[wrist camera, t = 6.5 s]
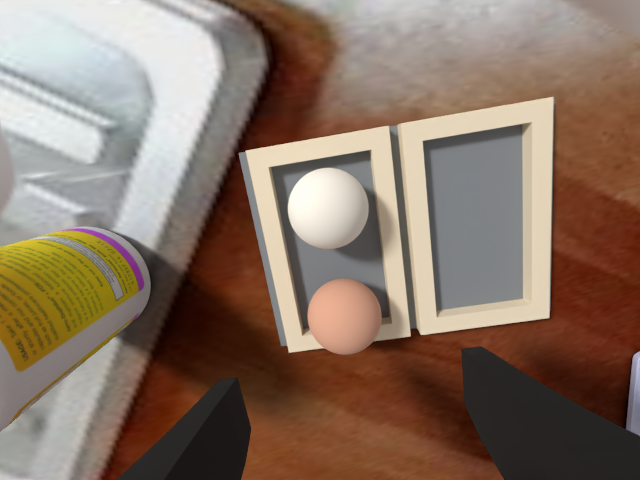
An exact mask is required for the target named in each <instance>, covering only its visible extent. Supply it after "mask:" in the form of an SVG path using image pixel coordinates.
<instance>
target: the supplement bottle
mask: <svg viewBox="0 0 640 480" xmlns="http://www.w3.org/2000/svg"><path fill="white" fill-rule="evenodd" d="M150 289H151V282H150V275H149V271H148V268H147V266H146V264H145V262H144V260H143V258H142V257H141V255H140V254H139V252H138V251H137V250H136V249H135V248H134V247H133V246H132V245H131V244H130V243H129V242H128V241H126V240H125V239H123V238H122V237H120V236H119V235H117V234H115V233H113V232H110V231H107V230H105V229H100V228H96V227H75V228H70V229H66V230H62V231H58V232H55V233H51V234H47V235H43V236H40V237H36V238H32V239H29V240H25V241H21V242H18V243H14V244H10V245H7V246H3V247H0V432H1V431H2V430H3V429H4V428H6V427H7V426H8V425H9V424H11V423H12V422H13V421H14V420H15V419H16V418H17V417H19V416H20V415H21V414H22V413H23V412H25V411H26V410H27V409H28V408H29V407H30V406H32V405H33V404H34V403H35V402H36V401H38V400H39V399H40V398H41V397H42V396H44V395H45V394H46V393H47V392H48V391H50V390H51V389H52V388H53V387H54V386H56V385H57V384H58V383H59V382H60V381H62V380H63V379H64V378H65V377H67V376H68V375H69V374H70V373H71V372H73V371H74V370H75V369H76V368H77V367H79V366H80V365H81V364H82V363H84V362H85V361H86V360H87V359H88V358H90V357H91V356H92V355H93V354H94V353H96V352H97V351H98V350H99V349H101V348H102V347H103V346H104V345H105V344H107V343H108V342H109V341H110V340H111V339H112V338H114V337H115V336H116V335H117V334H119V333H120V332H121V331H122V330H123V329H125V328H126V327H127V326H128V325H129V324H131V323H132V322H133V321H134V320H135V319H136V318H137V317H138V316H139V315H140V314H141V313H142V311H143V310H144V308H145V306H146V304H147V302H148V300H149V296H150Z"/></svg>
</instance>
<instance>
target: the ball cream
mask: <svg viewBox="0 0 640 480" xmlns="http://www.w3.org/2000/svg"><path fill="white" fill-rule="evenodd" d="M368 211H369V205H368V199H367V195H366V193H365V191H364V189H363V187H362V185H361V184H360V183H359V182H358V181H357V179H356V178H354V177H353V176H352V175H350V174H349V173H347V172H345V171H343V170H340V169H335V168H321V169H317V170H314V171H312V172H310V173H308V174H306V175H305V176H303V177H302V178H301V179H300V180H299V181H298V182H297V183H296V185H295V186H294V188H293V190H292V192H291V194H290V197H289V202H288V216H289V220H290V223H291V225H292V227H293V229H294V231H295V232H296V234H297V235H298V236H299V237H300V238H301V239H302V240H303V241H305V242H306V243H308V244H310V245H312V246H314V247H317V248H321V249H335V248H339V247H342V246H345V245H347V244H349V243H350V242H352V241H353V240H354V239H355V238H356V237H357V236H358V235H359V234H360V233H361V231H362V230H363V228H364V226H365V224H366V221H367V218H368Z"/></svg>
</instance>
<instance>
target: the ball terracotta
mask: <svg viewBox="0 0 640 480" xmlns="http://www.w3.org/2000/svg"><path fill="white" fill-rule="evenodd" d="M381 320H382V314H381V308H380V304H379V302H378V300H377V298H376V296H375V295H374V293H373V292H372V291H371V290H370V289H369V288H368V287H367V286H365V285H364V284H362V283H361V282H358V281H356V280H352V279H345V278H342V279H335V280H332V281H329V282H327V283H326V284H324V285H323V286H321V287H320V288H319V289H318V290H317V291H316V292H315V294H314V295H313V297H312V299H311V301H310V304H309V308H308V324H309V328H310V331H311V333H312V335H313V336H314V338H315V339H316V341H317V342H318V343H319V344H320V345H321V346H322V347H324V348H325V349H327V350H329V351H331V352H334V353H337V354H345V355H347V354H354V353H357V352H360V351H362V350H364V349H365V348H367V347H368V346H369V345H370V344H371V343H372V342H373V341H374V339H375V338H376V336H377V335H378V332H379V330H380V326H381Z"/></svg>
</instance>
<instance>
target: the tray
mask: <svg viewBox="0 0 640 480" xmlns="http://www.w3.org/2000/svg"><path fill="white" fill-rule="evenodd" d="M553 148H554V98H553V97H550V98H544V99H538V100H532V101H527V102H521V103H515V104H510V105H504V106H498V107H493V108H487V109H481V110H475V111H470V112H464V113H458V114H453V115H447V116H441V117H435V118H430V119H424V120H418V121H413V122H407V123H401V124H399V125H396V126H391V127H389V126H384V127H378V128H373V129H367V130H361V131H356V132H350V133H344V134H338V135H333V136H327V137H321V138H316V139H310V140H304V141H298V142H293V143H287V144H281V145H276V146H270V147H264V148H259V149H253V150H247V151H246V152H242V153H239V157H240V162H241V166H242V171H243V175H244V180H245V185H246V189H247V194H248V198H249V203H250V207H251V212H252V216H253V221H254V225H255V230H256V234H257V239H258V243H259V248H260V252H261V257H262V261H263V266H264V270H265V275H266V279H267V284H268V289H269V293H270V298H271V302H272V307H273V311H274V316H275V320H276V325H277V329H278V334H279V338H280V343H281V346H288V350H289V353H290V352H297V351H305V350H312V349H320V348H324V347H322V346H321V345H320V344H319V343H318V342H317V341H316V339H315V338H314V336H313V335H312V333H311V331H310V328H309V324H308V308H309V304H310V301H311V299H312V297H313V295H314V294H315V292H316V291H317V290H318V289H319V288H320V287H321V286H323V285H324V284H326V283H327V282H329V281H332V280H335V279H342V278H345V279H352V280H356V281H358V282H361V283H362V284H364V285H365V286H367V287H368V288H369V289H370V290H371V291H372V292H373V293H374V295H375V296H376V298H377V300H378V302H379V304H380V308H381V314H382V320H381V326H380V330H379V332H378V335H377V336H376V338H375V339H374V341H380V340H388V339H395V338H403V337H410V336H411V334H410V329H414V328H417V329H418V331H419V332H420V334H421V335H425V334H433V333H440V332H448V331H455V330H463V329H470V328H478V327H486V326H493V325H501V324H508V323H516V322H523V321H531V320H538V319H546V318H549V312H550V305H551V252H552V200H553ZM321 168H335V169H340V170H343V171H345V172H347V173H349V174H350V175H352V176H353V177H354V178H356V179H357V181H358V182H359V183H360V184H361V185H362V187H363V189H364V191H365V193H366V195H367V199H368V205H369V211H368V218H367V221H366V224H365V226H364V228H363V230H362V231H361V233H360V234H359V235H358V236H357V237H356V238H355V239H354V240H353V241H352V242H350V243H349V244H347V245H345V246H342V247H339V248H335V249H321V248H317V247H314V246H312V245H310V244H308V243H306V242H305V241H303V240H302V239H301V238H300V237H299V236H298V235H297V234H296V232H295V231H294V229H293V227H292V225H291V223H290V220H289V216H288V202H289V197H290V194H291V192H292V190H293V188H294V186H295V185H296V183H297V182H298V181H299V180H300V179H301V178H302V177H303V176H305V175H306V174H308V173H310V172H312V171H314V170H317V169H321Z"/></svg>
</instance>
